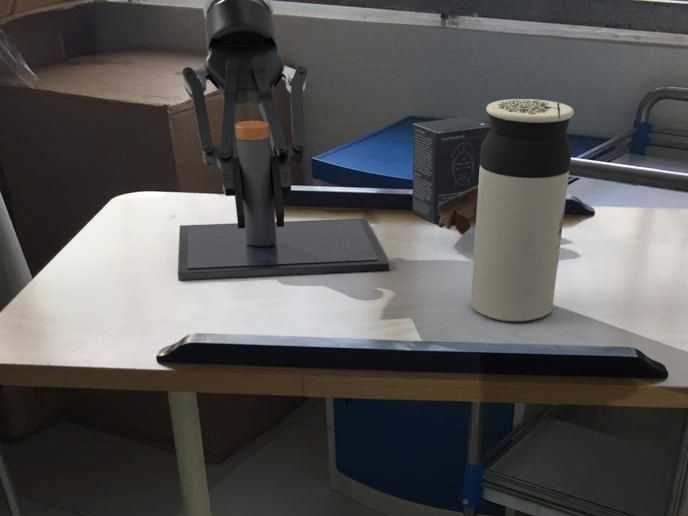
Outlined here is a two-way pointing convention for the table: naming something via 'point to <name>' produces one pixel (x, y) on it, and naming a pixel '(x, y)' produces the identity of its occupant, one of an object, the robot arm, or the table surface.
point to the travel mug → (520, 209)
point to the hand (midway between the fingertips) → (261, 220)
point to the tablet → (279, 250)
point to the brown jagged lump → (459, 210)
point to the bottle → (256, 182)
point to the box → (445, 162)
